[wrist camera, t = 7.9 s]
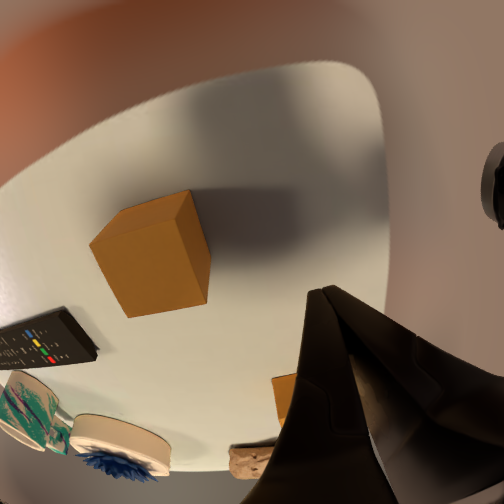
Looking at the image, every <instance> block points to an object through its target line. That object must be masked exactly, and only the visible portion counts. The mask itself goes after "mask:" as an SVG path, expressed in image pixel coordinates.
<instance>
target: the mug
mask: <svg viewBox="0 0 504 504" xmlns="http://www.w3.org/2000/svg"><path fill="white" fill-rule="evenodd" d="M58 401H59V400H58V399H57V398H56V396H55V395H54V394H53V393H52V391H51V390H50V389H48V388H47V387H46V386H44V385H43V384H42V383H40V382H39V381H38V380H37V379H35V378H33V377H31V376H29V375H27V374H25V373H23V372H21V371H12V373H11V375H10V377H9V380H8V382H7V384H6V386H5V389H4V391H3V393H2V396H1V398H0V427H1V428H2V429H3V430H4V431H5V432H6V433H8V434H9V435H11V436H12V437H13V438H15V439H17V440H18V441H20V442H22V443H24V444H25V445H27V446H29V447H31V448H33V449H36V450H39V451H43V452H44V451H45V447H46V446H47V447H48V448H50V449H51V450H53V451H55V452H56V453H60V454H64V455H67V451H68V446H69V442H70V441H69V438H70V434H71V431H72V428H71V427H70V426H68V425H67V424H66V423H64V422H63V421H62V420H60V419H59V418H58V417H57V416H55V415H54V414H55V411H56V407H57V404H58ZM50 428H51V429H52V430H53V431H55V432H54V436H53V437H51V436H50V435H49V431H50Z"/></svg>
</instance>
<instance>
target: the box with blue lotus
mask: <svg viewBox="0 0 504 504" xmlns="http://www.w3.org/2000/svg"><path fill="white" fill-rule="evenodd" d="M69 441H70V443H71V445H72V446H73V447H74V448H75V449H76V450H77V451H79V452H80V453H81V454H77V455H75V456H80V457H88V458H87V459H85V460H83V461H86V462H88V463H87V464H86V465H89V466H92V465H94V469H101V470H102V471H105V472H106V474H107V475H110V474H112V476H113V477H114V478H116V479H118V478H119V477H121V476H122V475H123V476H124V477H125V478H126V479H129V478H130V479H131V480H133V481H135V478H136V479H138V480H139V481H141V482H143V483H144V480H143V479H145V480H147V481H149V480H148V479H147V478H146V476H147V477H149V478H151V479H153V480H155V481H157V480H156V479H155V478H154V477H153V476H169V475H170V474H169V473H168V472H169V469H170V454H171V448H170V446H169V445H168V444H167V443H166V442H165V441H164V440H163V439H161V438H160V437H158V436H156V435H155V434H153V433H151V432H148V431H146V430H144V429H141V428H139V427H136V426H134V425H131V424H128V423H125V422H122V421H119V420H115V419H111V418H107V417H103V416H97V415H80V416H78V417H76V418H75V420H74V424H73V427H72V431H71V434H70V438H69Z"/></svg>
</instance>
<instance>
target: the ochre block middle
mask: <svg viewBox="0 0 504 504" xmlns="http://www.w3.org/2000/svg"><path fill="white" fill-rule="evenodd" d="M296 376H297V375H296V374H292V375H288V376H283V377H279V378H274V379H272V383H273V389H274V395H275V402H276V408H277V414H278V419H279V422H280V425H281V428H282V427H283V424H284V421H285V418H286V415H287V412H288V409H289V406H290V403H291V398H292V394H293V389H294V384H295V378H296Z"/></svg>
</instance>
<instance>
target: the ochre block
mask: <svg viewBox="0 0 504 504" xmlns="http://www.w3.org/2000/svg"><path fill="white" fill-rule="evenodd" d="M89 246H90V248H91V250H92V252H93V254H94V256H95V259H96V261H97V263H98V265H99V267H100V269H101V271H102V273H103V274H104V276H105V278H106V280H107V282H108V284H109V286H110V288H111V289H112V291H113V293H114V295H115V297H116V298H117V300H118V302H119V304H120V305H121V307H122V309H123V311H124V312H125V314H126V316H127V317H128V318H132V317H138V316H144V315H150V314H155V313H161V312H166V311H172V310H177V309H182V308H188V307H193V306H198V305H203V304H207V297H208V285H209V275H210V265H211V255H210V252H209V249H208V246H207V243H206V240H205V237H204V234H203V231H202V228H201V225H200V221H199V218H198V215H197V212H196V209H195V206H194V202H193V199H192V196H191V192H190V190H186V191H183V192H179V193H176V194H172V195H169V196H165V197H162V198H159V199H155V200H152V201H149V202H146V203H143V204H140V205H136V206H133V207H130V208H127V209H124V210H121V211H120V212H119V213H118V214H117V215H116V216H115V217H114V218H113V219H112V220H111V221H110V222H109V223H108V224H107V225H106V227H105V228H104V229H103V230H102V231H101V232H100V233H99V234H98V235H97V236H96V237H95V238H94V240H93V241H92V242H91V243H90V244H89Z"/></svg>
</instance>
